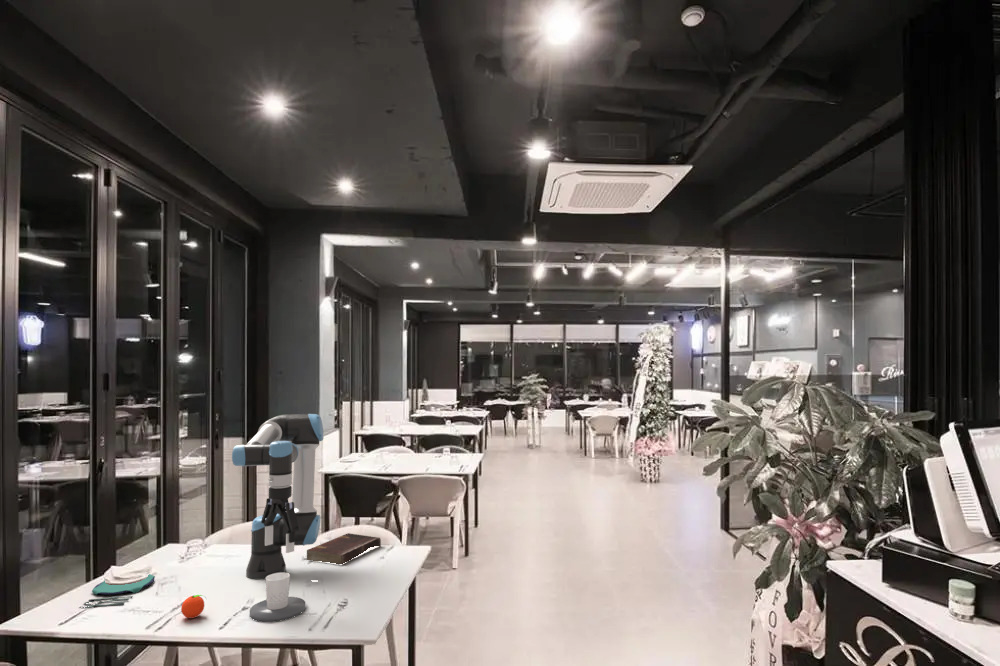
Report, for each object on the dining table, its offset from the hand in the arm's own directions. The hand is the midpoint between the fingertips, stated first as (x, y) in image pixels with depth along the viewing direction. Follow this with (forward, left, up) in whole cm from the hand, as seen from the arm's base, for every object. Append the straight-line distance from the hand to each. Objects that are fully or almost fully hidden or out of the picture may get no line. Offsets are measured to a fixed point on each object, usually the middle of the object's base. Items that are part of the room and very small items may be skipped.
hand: (279, 548), depth 201 cm
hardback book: (-36, +54, -22) cm, 68 cm away
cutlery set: (-65, -28, -22) cm, 74 cm away
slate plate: (0, 0, -21) cm, 21 cm away
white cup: (0, 0, -20) cm, 20 cm away
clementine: (-18, -20, -21) cm, 34 cm away
